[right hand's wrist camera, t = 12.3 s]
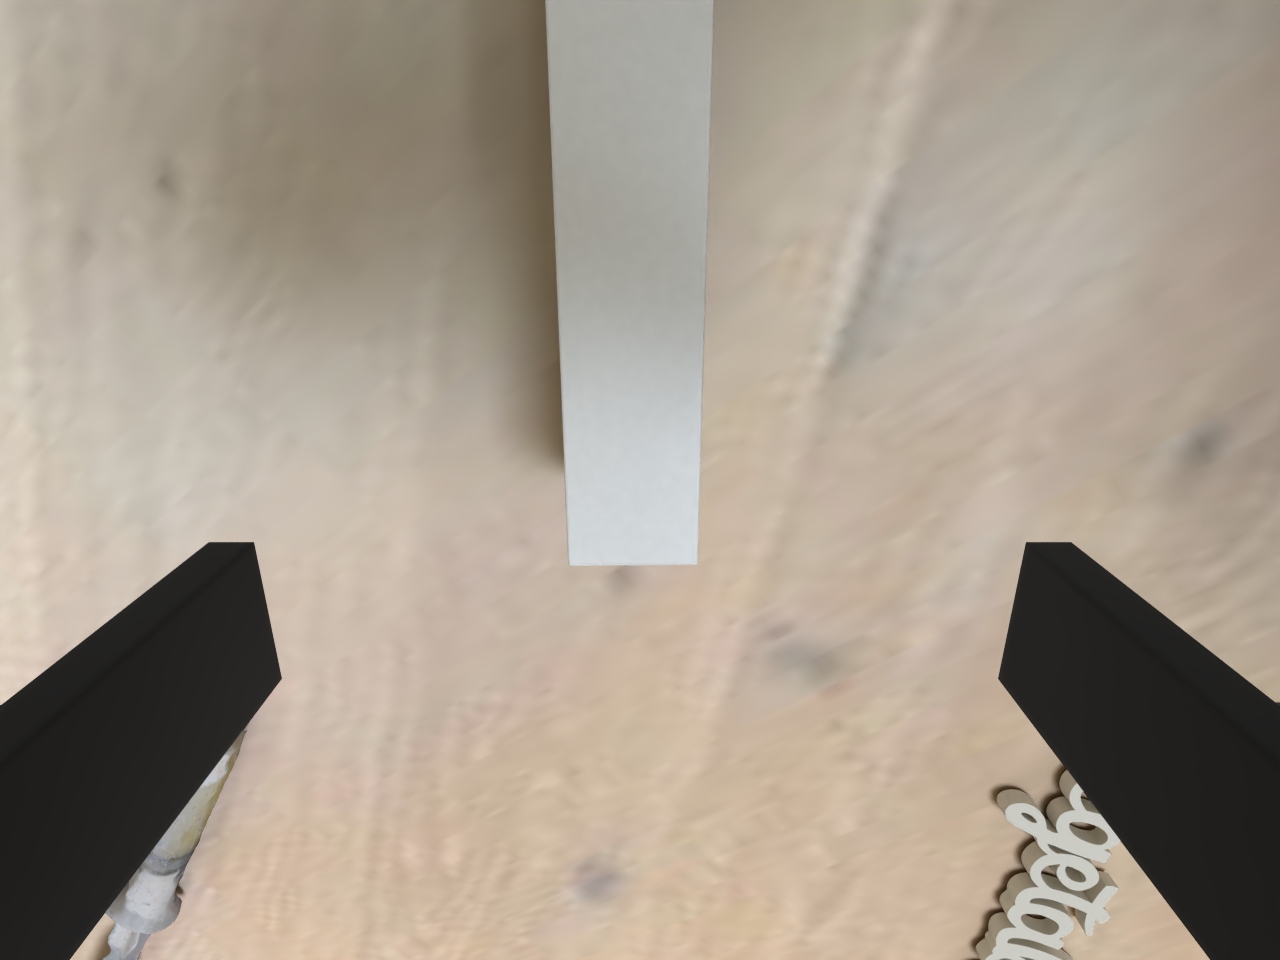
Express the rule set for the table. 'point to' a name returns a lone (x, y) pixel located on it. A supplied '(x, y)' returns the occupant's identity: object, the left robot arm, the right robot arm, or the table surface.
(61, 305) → the table surface
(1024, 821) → the decorative sign
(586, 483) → the bar
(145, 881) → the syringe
